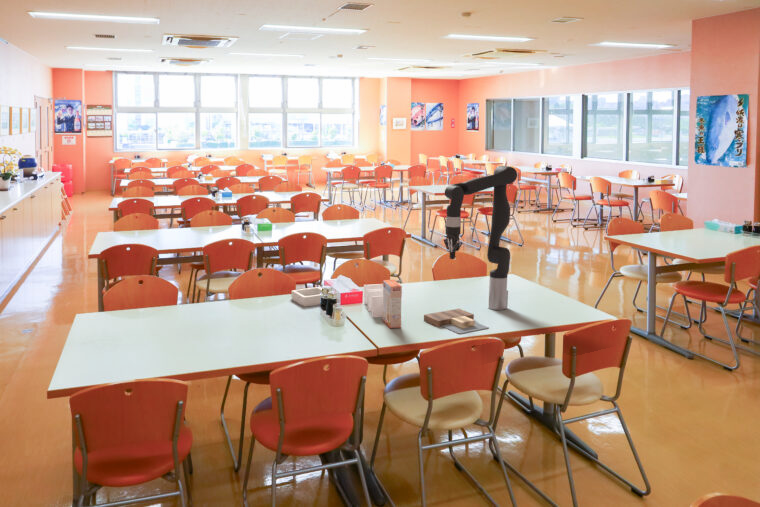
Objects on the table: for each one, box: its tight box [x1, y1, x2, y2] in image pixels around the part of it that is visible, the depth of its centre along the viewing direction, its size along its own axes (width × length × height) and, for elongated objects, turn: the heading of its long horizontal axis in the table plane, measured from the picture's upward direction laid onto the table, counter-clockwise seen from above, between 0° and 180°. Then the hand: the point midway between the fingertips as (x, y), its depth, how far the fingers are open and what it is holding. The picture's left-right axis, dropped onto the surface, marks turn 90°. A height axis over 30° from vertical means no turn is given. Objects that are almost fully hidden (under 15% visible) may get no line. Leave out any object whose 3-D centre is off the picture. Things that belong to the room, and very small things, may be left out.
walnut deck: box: [423, 308, 475, 328], centre depth 322 cm, size 22×12×3 cm, turn 121°
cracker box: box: [382, 279, 403, 329], centre depth 314 cm, size 14×6×21 cm, turn 14°
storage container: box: [363, 283, 383, 318], centre depth 339 cm, size 25×11×11 cm, turn 11°
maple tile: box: [451, 316, 476, 329], centre depth 313 cm, size 8×8×3 cm
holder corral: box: [291, 286, 323, 307], centre depth 356 cm, size 17×17×5 cm
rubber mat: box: [441, 321, 490, 335], centre depth 312 cm, size 18×15×1 cm
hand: (452, 258), depth 328 cm, fingers closed
